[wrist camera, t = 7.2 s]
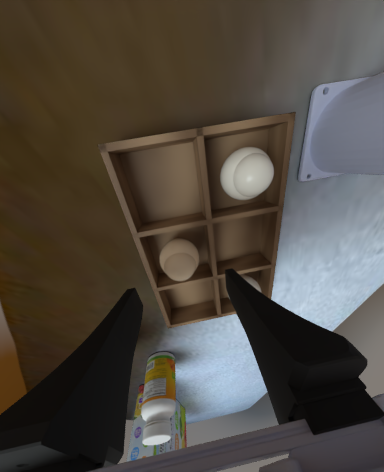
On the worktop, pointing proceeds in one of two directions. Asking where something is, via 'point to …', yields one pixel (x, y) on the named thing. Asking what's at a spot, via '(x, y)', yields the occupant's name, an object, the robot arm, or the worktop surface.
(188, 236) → the egg tray
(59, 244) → the worktop surface
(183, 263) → the beige egg
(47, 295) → the worktop surface
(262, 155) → the cream egg near
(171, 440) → the snack box
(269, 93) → the worktop surface
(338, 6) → the worktop surface
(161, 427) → the supplement bottle
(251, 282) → the cream egg far
